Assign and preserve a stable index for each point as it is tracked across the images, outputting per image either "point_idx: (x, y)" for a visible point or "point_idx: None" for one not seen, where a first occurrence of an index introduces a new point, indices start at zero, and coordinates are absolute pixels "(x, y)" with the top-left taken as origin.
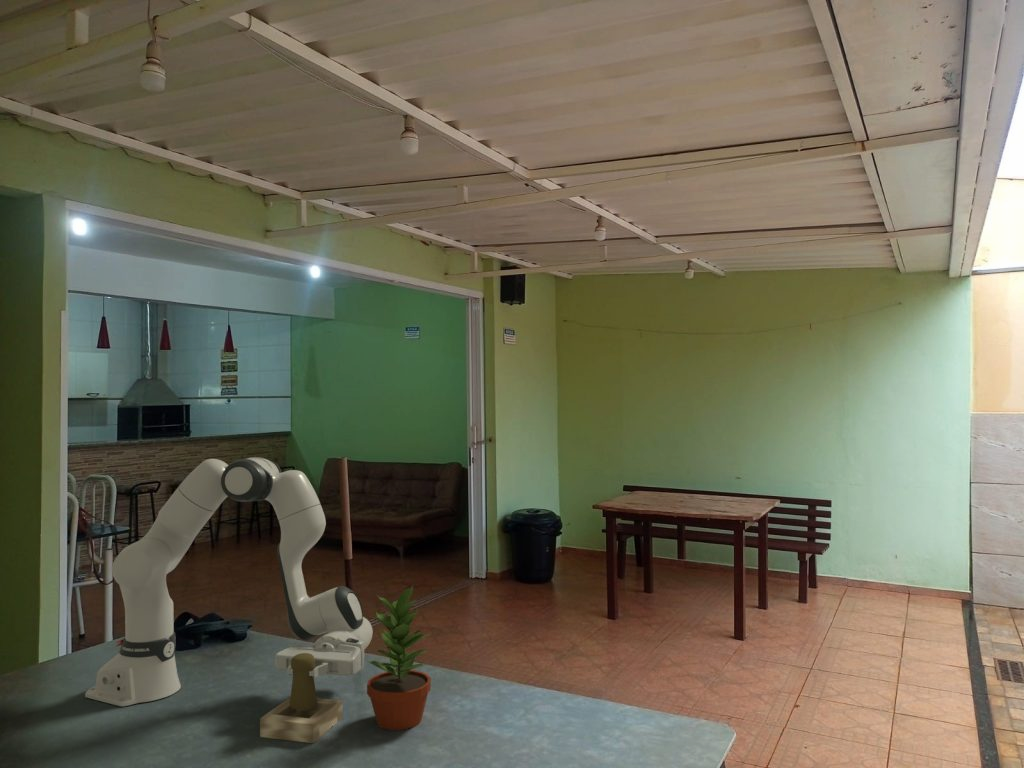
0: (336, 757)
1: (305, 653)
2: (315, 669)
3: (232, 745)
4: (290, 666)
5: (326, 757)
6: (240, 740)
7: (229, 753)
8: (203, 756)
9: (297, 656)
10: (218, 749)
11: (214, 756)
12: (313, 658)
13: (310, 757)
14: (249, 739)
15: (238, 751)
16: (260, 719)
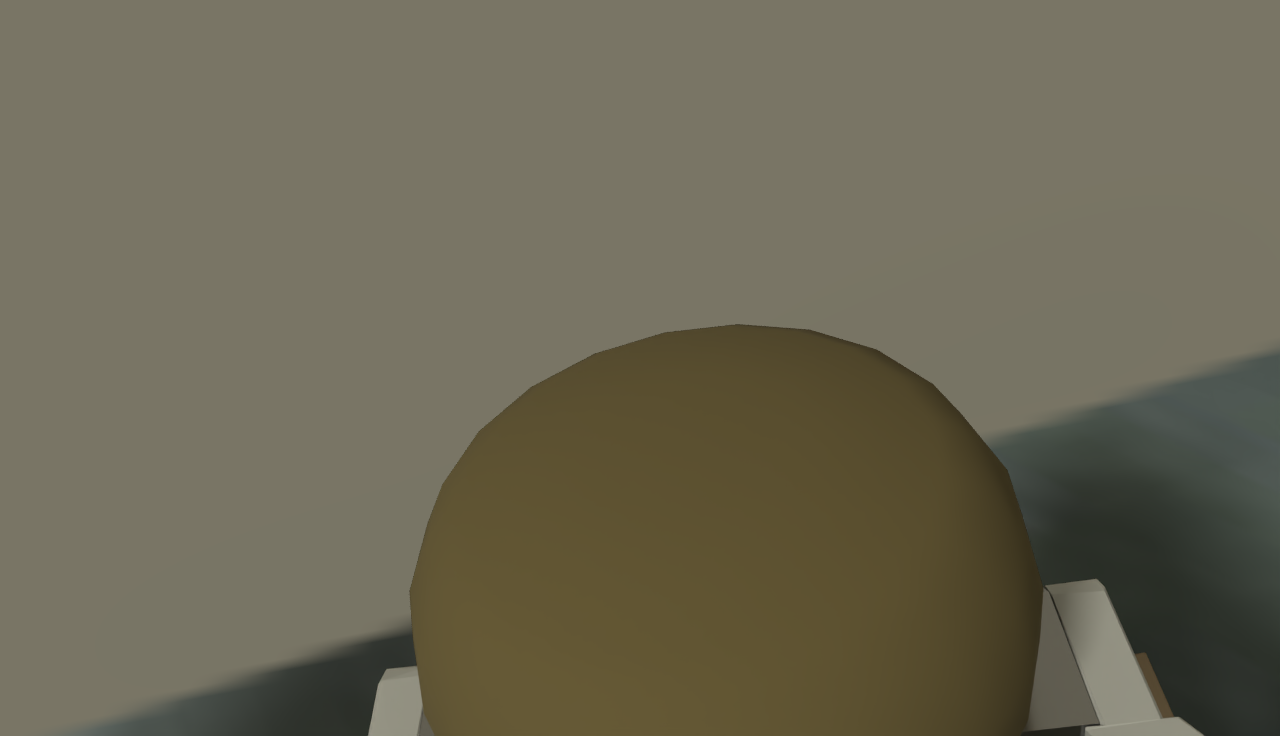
0: (186, 721)
1: (673, 532)
2: (380, 686)
3: (1212, 574)
4: (1086, 630)
5: (270, 694)
6: (1247, 662)
7: (1092, 485)
8: (1236, 397)
9: (771, 362)
10: (1250, 493)
11: (1156, 423)
12: (418, 627)
13: (402, 652)
14: (1183, 706)
15: (1053, 527)
16: (1137, 659)
